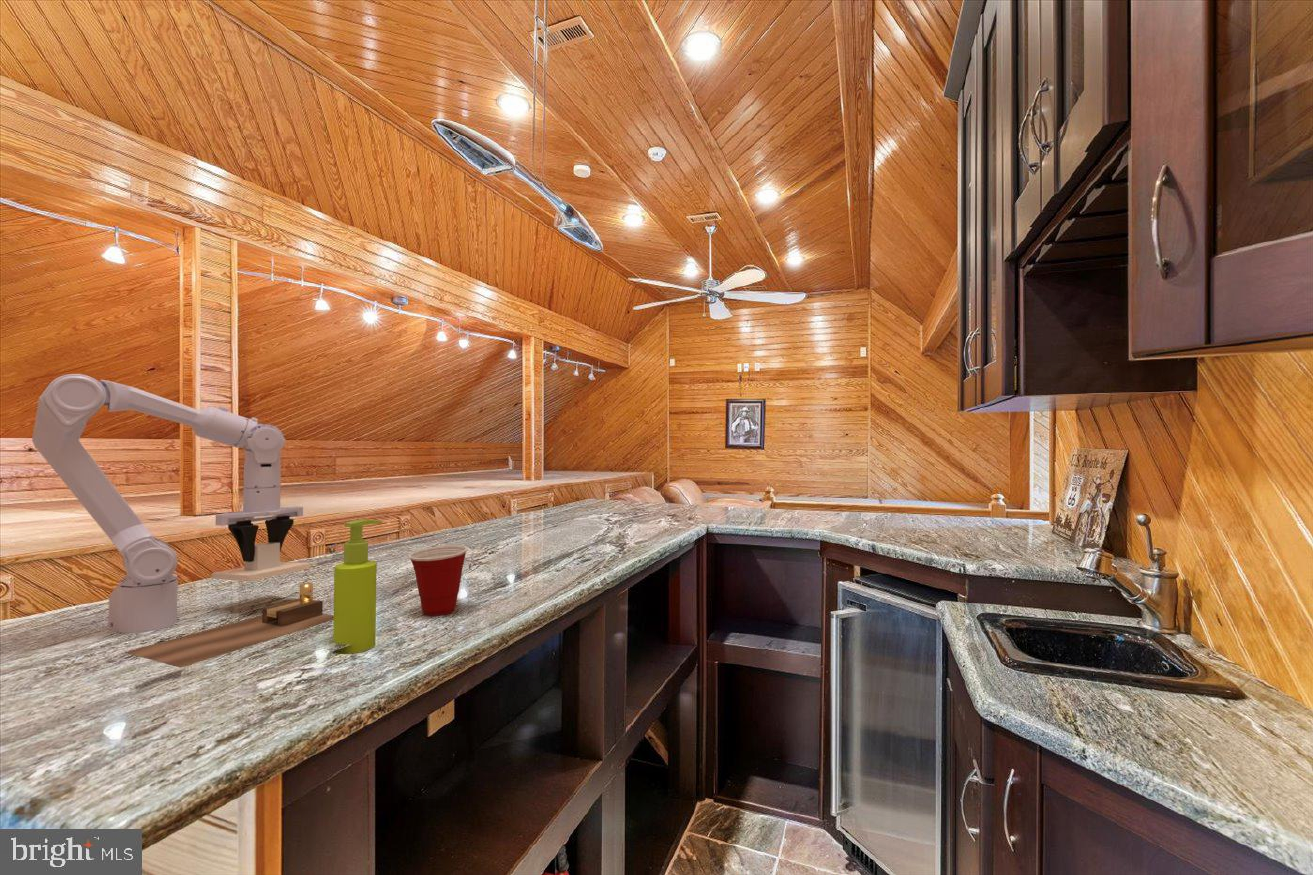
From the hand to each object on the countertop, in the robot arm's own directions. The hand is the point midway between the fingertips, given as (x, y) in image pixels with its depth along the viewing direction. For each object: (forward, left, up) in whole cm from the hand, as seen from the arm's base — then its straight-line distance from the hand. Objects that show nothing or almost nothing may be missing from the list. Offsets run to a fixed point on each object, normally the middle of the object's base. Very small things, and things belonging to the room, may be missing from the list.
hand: (261, 558), depth 103 cm
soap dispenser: (+31, -5, -11) cm, 34 cm away
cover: (0, 0, -3) cm, 3 cm away
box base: (+13, -11, -10) cm, 20 cm away
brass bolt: (+13, -3, -8) cm, 15 cm away
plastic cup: (+29, +14, -11) cm, 35 cm away
